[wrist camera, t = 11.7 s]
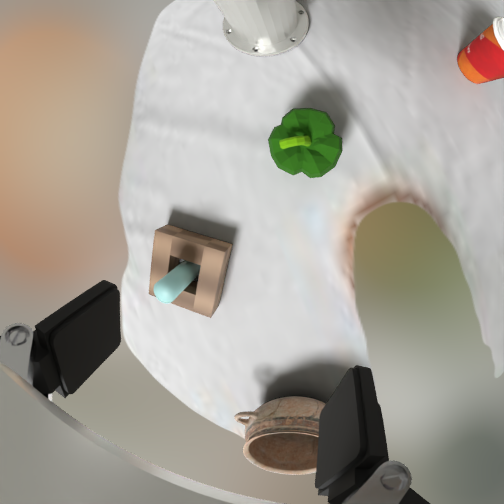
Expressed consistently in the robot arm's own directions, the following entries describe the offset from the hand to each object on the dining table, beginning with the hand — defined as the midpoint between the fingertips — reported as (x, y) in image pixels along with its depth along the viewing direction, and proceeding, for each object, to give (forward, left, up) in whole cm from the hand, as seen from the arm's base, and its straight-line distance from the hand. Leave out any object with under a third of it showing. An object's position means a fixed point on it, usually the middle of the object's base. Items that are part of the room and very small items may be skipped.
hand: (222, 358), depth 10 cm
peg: (+12, -12, -30) cm, 35 cm away
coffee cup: (-34, +23, -31) cm, 51 cm away
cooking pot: (+37, +14, -31) cm, 50 cm away
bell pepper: (-10, 0, -31) cm, 32 cm away
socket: (+12, -12, -30) cm, 35 cm away
